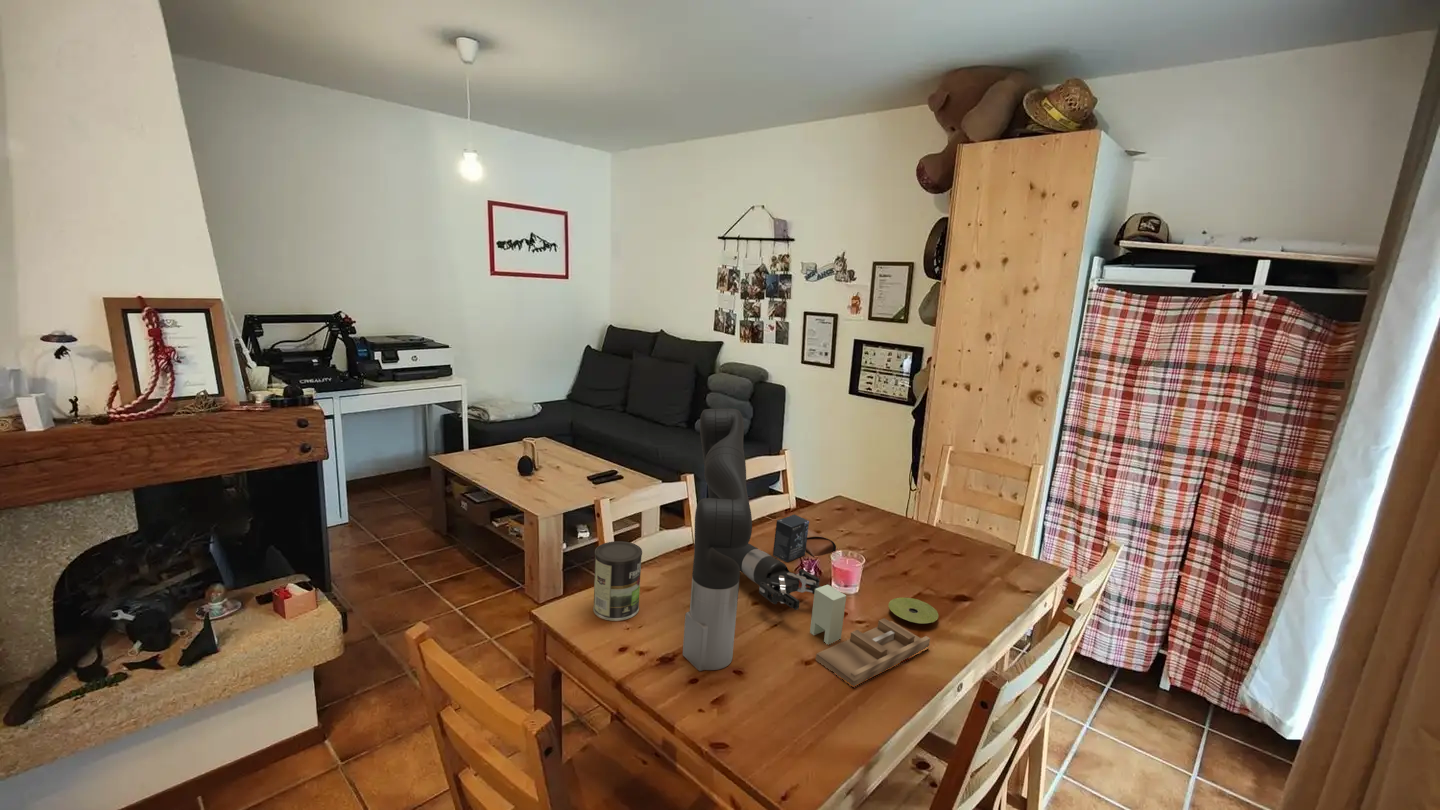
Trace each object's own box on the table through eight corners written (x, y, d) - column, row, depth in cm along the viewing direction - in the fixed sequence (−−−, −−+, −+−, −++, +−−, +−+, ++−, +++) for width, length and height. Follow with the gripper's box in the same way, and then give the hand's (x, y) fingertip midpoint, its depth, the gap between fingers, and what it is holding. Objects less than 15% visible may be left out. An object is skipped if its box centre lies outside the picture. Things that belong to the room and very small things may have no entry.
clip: (827, 645, 130) (833, 600, 127) (809, 632, 134) (814, 588, 131) (840, 639, 132) (846, 595, 130) (822, 627, 136) (827, 584, 134)
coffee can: (645, 601, 141) (648, 544, 138) (630, 625, 131) (632, 564, 129) (603, 593, 143) (605, 537, 140) (585, 616, 133) (587, 557, 130)
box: (787, 563, 166) (791, 526, 163) (772, 555, 170) (775, 519, 167) (805, 555, 171) (809, 520, 169) (790, 548, 175) (794, 513, 173)
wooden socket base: (853, 688, 116) (855, 671, 116) (815, 660, 124) (817, 644, 123) (928, 649, 131) (930, 635, 130) (890, 626, 138) (892, 612, 138)
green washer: (877, 607, 146) (878, 600, 146) (916, 601, 150) (917, 594, 150) (907, 633, 136) (908, 625, 136) (947, 627, 140) (949, 619, 140)
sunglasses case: (772, 533, 184) (783, 513, 185) (786, 540, 188) (796, 521, 189) (815, 558, 170) (826, 536, 171) (829, 565, 174) (839, 544, 175)
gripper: (742, 562, 143) (790, 593, 130) (787, 549, 151) (836, 577, 139) (740, 591, 144) (787, 625, 132) (784, 577, 153) (832, 607, 140)
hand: (812, 600), depth 135 cm, fingers open, 8 cm apart
